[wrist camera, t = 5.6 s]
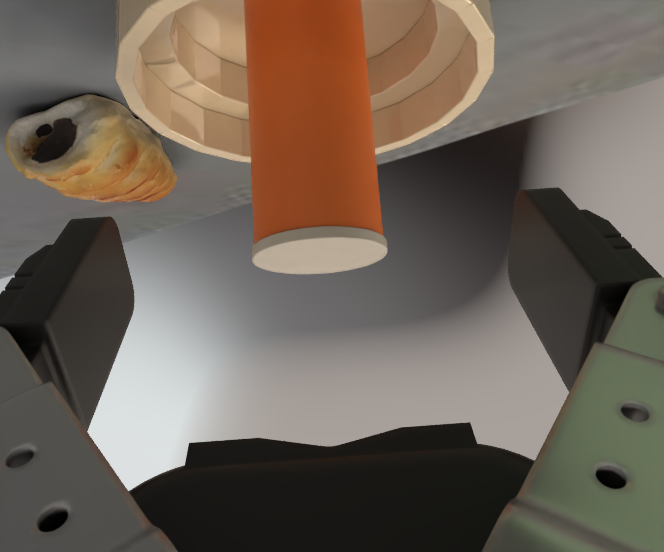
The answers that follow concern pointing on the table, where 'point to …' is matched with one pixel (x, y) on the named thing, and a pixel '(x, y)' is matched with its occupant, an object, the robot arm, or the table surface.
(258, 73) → the cracker tube
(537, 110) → the table surface
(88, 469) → the robot arm
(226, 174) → the table surface
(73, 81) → the table surface
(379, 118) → the oatmeal bowl
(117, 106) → the pastry
